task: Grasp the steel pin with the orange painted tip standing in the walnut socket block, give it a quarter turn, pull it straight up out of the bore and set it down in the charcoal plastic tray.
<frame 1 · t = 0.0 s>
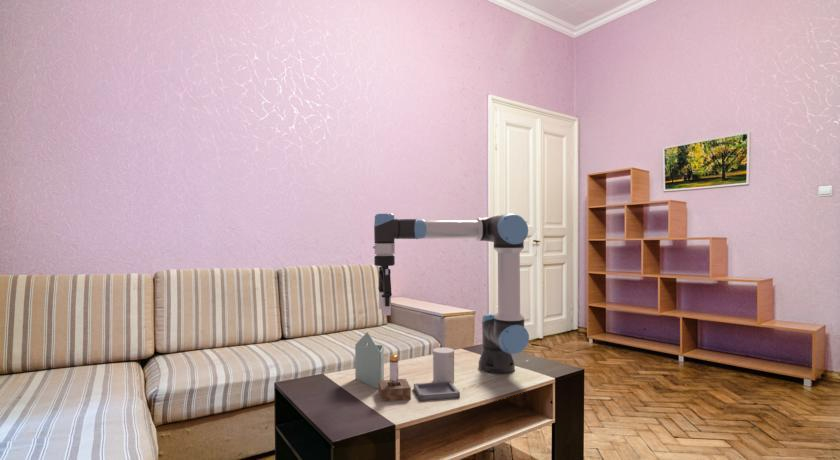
hand: (384, 312, 164), 28 cm above the table, fingers open, 13 cm apart
tray: (436, 393, 158), on the table
white cylinder: (443, 381, 171), on the table
pin: (394, 375, 156), in the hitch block
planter: (375, 382, 171), on the table
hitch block: (394, 395, 156), on the table
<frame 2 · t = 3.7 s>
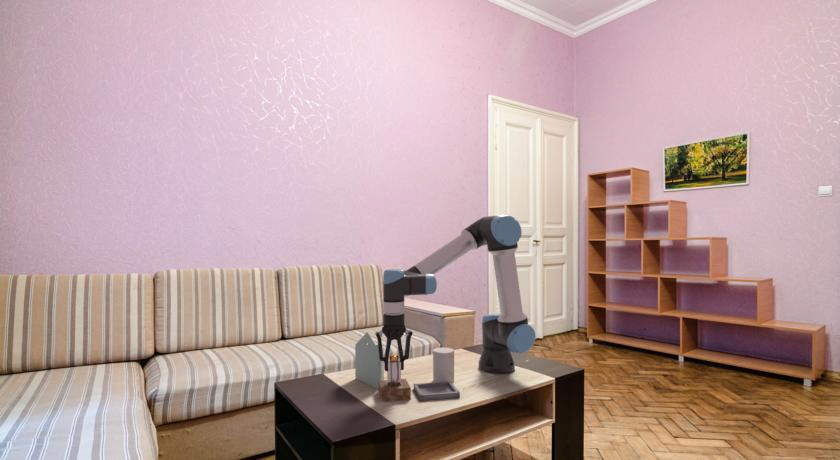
hand: (394, 379, 156), 6 cm above the table, fingers closed on pin, 3 cm apart
pin: (394, 375, 156), in the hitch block, touching gripper
everything else where it was.
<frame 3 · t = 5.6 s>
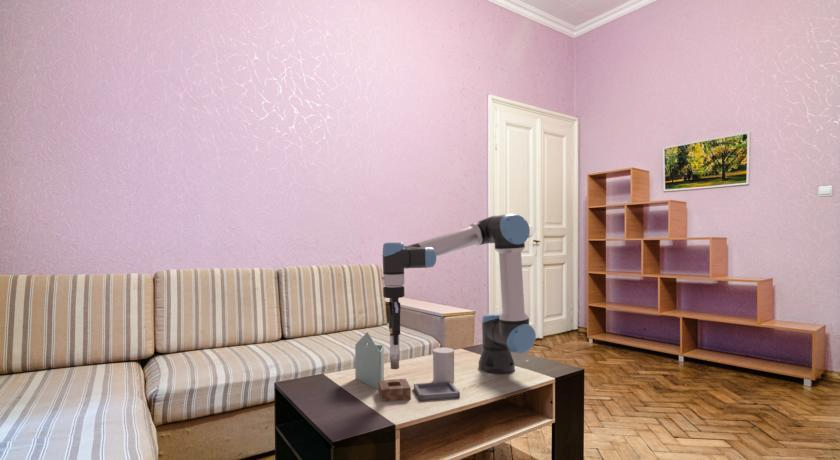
hand: (394, 352, 156), 15 cm above the table, fingers closed on pin, 3 cm apart
pin: (394, 348, 156), point 17 cm above the table, touching gripper
everything else where it was.
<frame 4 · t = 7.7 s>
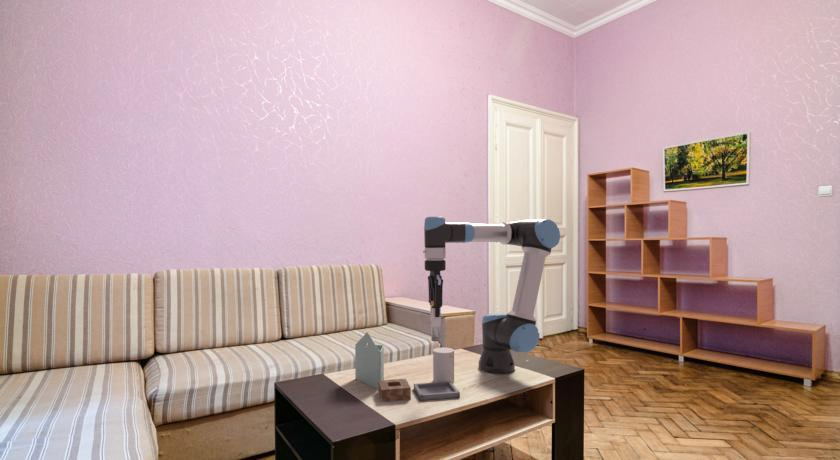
hand: (435, 324, 158), 24 cm above the table, fingers closed on pin, 3 cm apart
pin: (435, 320, 158), point 26 cm above the table, touching gripper
everything else where it was.
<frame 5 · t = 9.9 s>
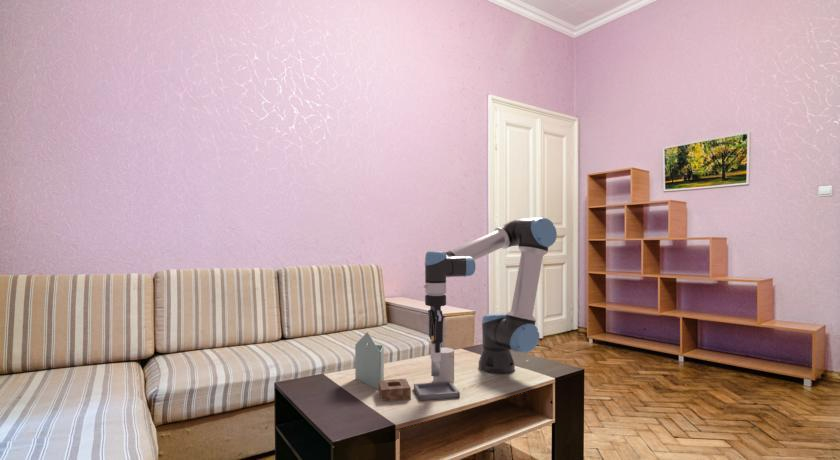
hand: (435, 359, 158), 12 cm above the table, fingers closed on pin, 3 cm apart
pin: (435, 355, 158), point 13 cm above the table, touching gripper
everything else where it was.
when the fingers open (7 cm above the table, at t = 11.6 s): pin stays where it is, resting on tray.
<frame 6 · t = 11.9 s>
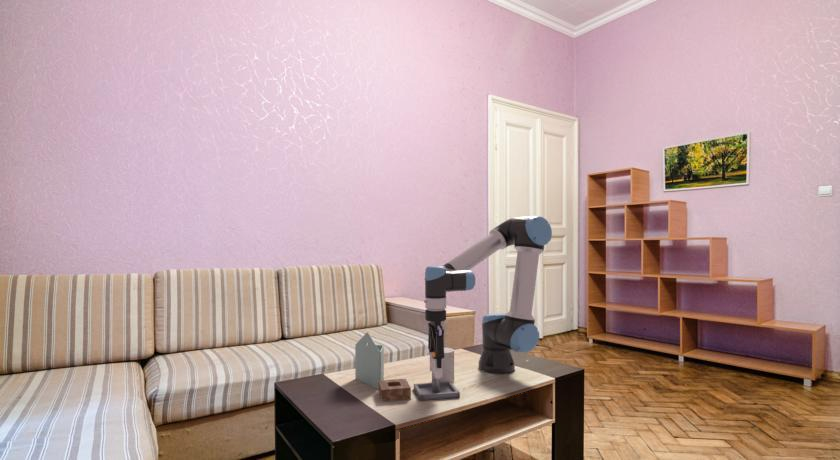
hand: (436, 373, 158), 7 cm above the table, fingers open, 7 cm apart
pin: (436, 371, 158), in the tray, point 8 cm above the table
everything else where it was.
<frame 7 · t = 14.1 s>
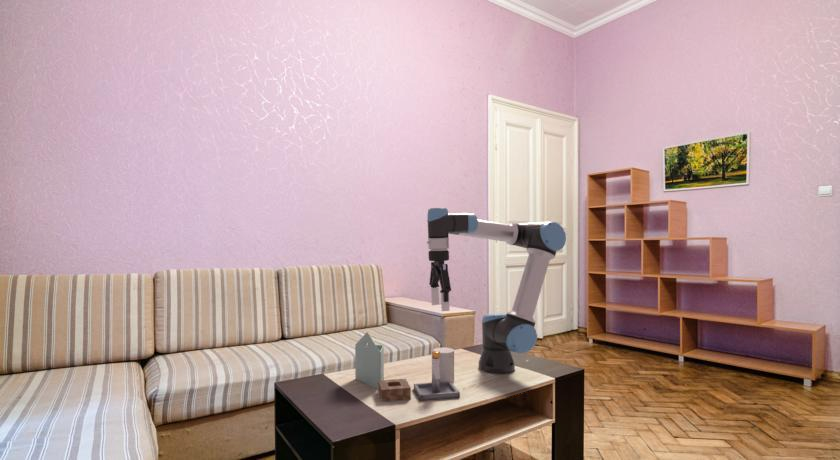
hand: (440, 307, 162), 30 cm above the table, fingers open, 13 cm apart
nothing on the table moved.
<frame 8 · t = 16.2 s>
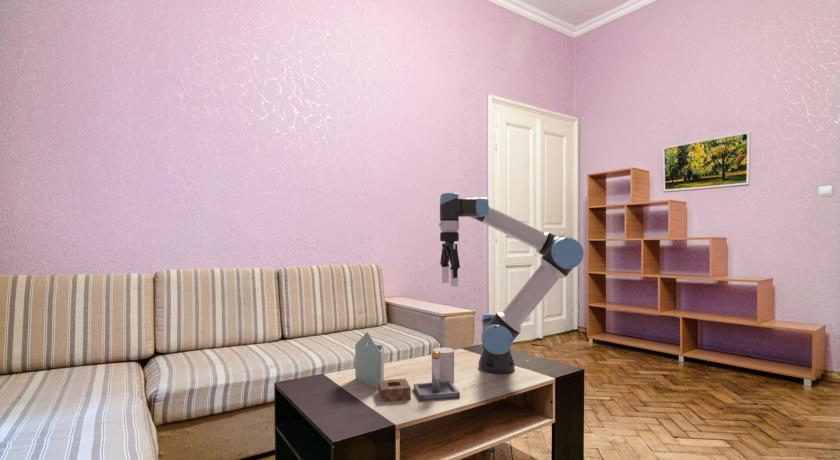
hand: (449, 284, 177), 37 cm above the table, fingers open, 13 cm apart
nothing on the table moved.
at the end: pin inside the target area on the tray (0.0 cm from its centre), point 7.6 cm above the tray's base; pin touching tray; the gripper is holding nothing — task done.
